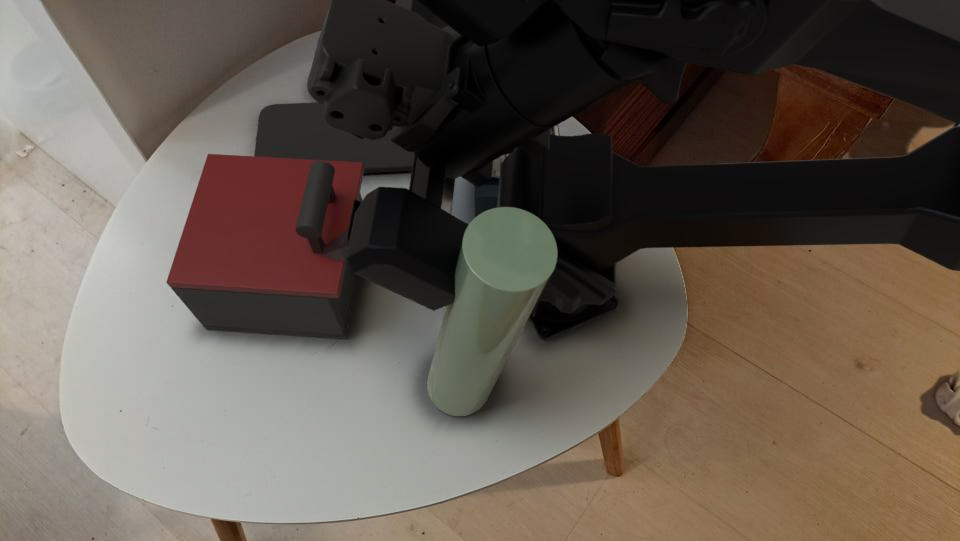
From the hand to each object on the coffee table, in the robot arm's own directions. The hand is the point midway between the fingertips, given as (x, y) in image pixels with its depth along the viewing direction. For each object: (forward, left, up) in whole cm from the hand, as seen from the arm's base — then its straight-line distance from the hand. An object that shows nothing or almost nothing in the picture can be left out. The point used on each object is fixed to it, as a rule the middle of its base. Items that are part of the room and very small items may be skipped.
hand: (342, 191), depth 45 cm
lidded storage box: (+5, -3, -11) cm, 13 cm away
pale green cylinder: (-3, +11, -11) cm, 16 cm away
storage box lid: (+5, -3, -5) cm, 7 cm away
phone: (-3, -13, -11) cm, 18 cm away
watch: (-13, -3, -11) cm, 17 cm away
